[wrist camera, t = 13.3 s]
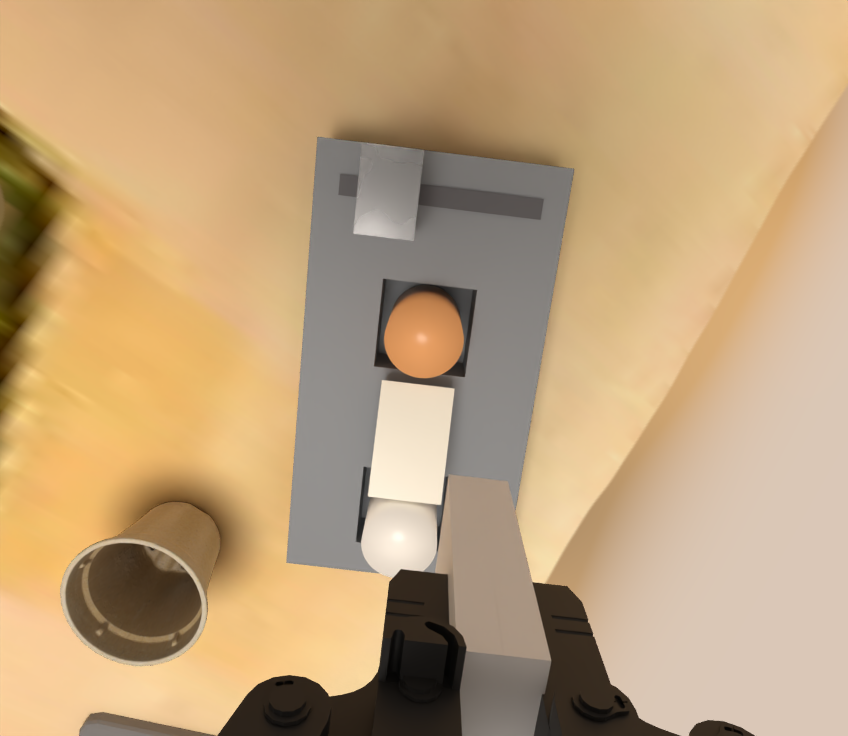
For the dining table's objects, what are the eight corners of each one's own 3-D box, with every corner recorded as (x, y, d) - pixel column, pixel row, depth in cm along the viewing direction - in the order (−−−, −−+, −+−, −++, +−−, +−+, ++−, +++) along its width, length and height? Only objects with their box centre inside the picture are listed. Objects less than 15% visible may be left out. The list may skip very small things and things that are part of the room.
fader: (362, 227, 40) (353, 233, 35) (369, 146, 38) (361, 141, 34) (416, 234, 40) (413, 240, 35) (425, 153, 38) (424, 149, 34)
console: (300, 526, 51) (281, 574, 45) (330, 141, 44) (313, 134, 37) (495, 549, 51) (504, 599, 45) (559, 170, 44) (579, 168, 38)
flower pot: (190, 457, 50) (140, 512, 41) (267, 551, 52) (235, 622, 43) (95, 520, 51) (29, 586, 43) (174, 610, 53) (126, 689, 45)
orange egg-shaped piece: (387, 348, 45) (380, 373, 39) (394, 281, 44) (388, 296, 38) (455, 357, 45) (458, 382, 39) (464, 289, 44) (469, 305, 38)
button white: (367, 525, 47) (357, 573, 41) (373, 465, 46) (364, 506, 40) (432, 533, 47) (432, 582, 41) (440, 473, 46) (441, 515, 40)
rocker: (369, 493, 41) (367, 496, 40) (383, 380, 42) (382, 379, 40) (440, 501, 41) (441, 505, 40) (453, 388, 42) (454, 388, 40)
